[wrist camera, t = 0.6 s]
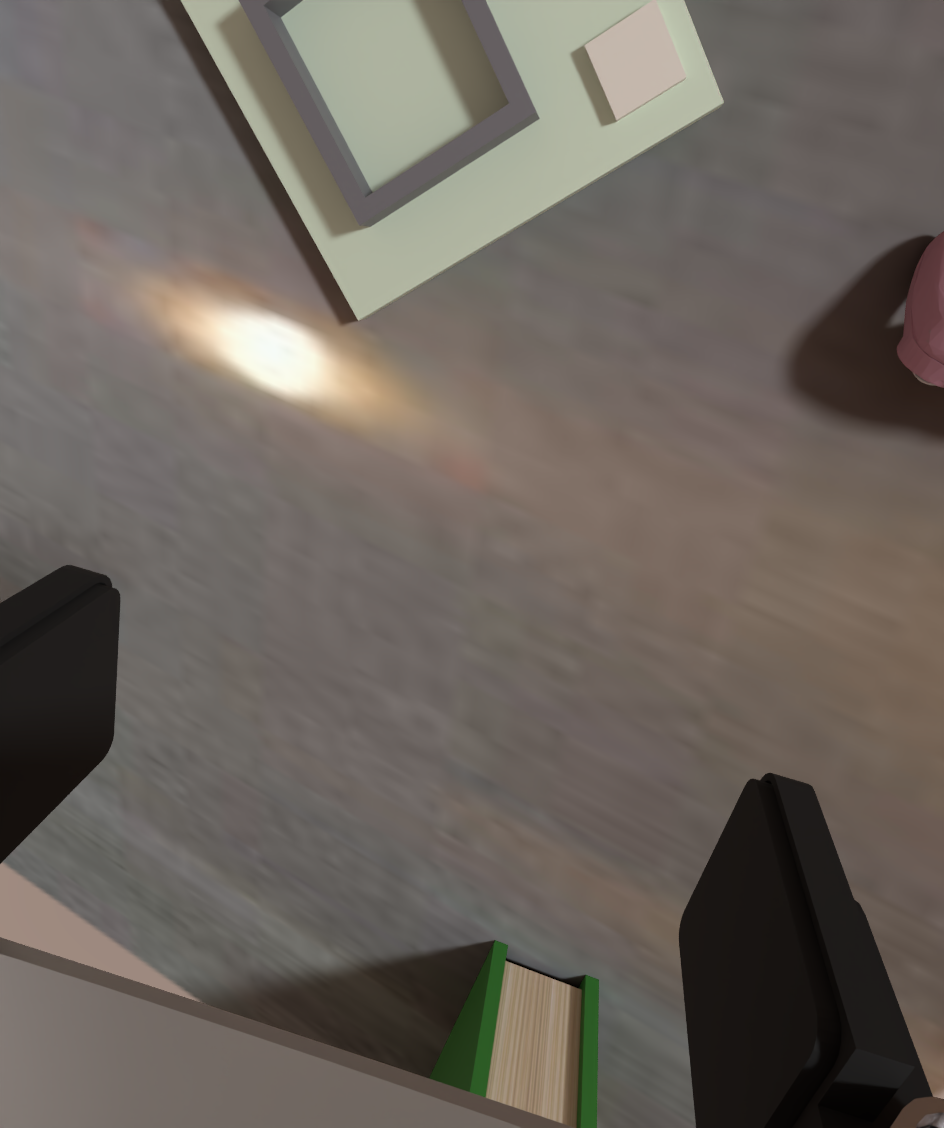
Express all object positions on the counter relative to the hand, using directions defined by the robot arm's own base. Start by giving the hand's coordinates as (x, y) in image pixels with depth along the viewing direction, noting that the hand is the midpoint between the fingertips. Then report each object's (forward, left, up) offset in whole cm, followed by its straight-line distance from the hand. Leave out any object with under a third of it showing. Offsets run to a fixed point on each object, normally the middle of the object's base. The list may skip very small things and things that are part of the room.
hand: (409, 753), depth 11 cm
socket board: (-3, -15, -29) cm, 33 cm away
